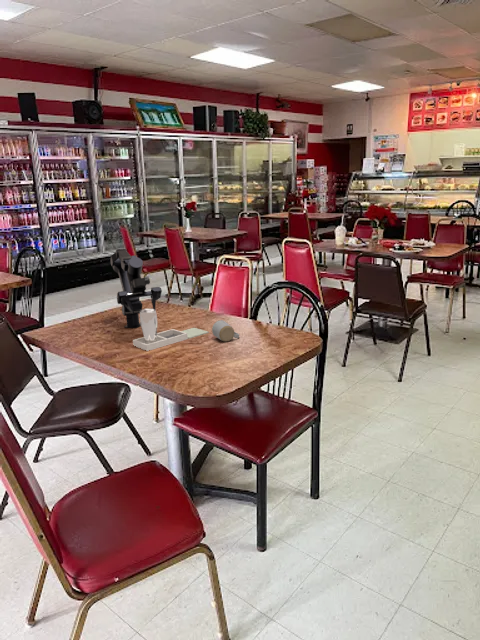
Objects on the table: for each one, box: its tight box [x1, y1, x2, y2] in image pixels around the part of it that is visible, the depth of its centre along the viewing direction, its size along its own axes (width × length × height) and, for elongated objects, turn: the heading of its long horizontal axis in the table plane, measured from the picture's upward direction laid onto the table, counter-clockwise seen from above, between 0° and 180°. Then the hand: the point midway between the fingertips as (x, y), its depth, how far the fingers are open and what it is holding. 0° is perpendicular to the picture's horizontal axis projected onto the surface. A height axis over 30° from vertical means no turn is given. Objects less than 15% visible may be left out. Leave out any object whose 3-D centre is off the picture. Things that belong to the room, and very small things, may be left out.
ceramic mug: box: [211, 319, 240, 343], centre depth 203 cm, size 11×8×8 cm
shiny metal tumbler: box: [139, 308, 158, 344], centre depth 199 cm, size 7×7×15 cm
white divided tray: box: [132, 327, 210, 352], centre depth 207 cm, size 32×11×2 cm, turn 133°
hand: (144, 311), depth 203 cm, fingers open, 9 cm apart
